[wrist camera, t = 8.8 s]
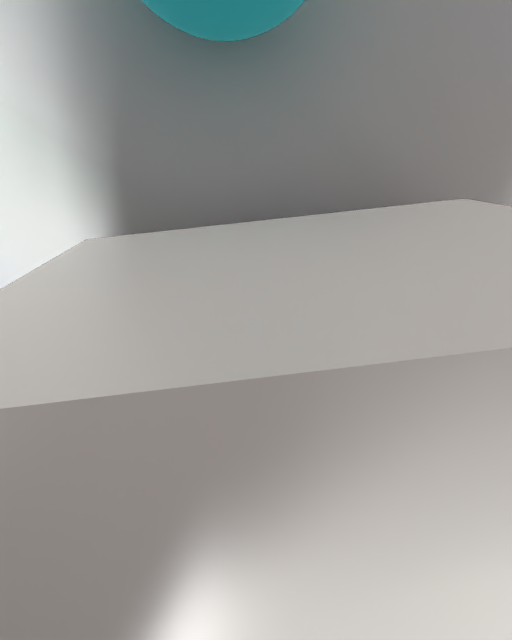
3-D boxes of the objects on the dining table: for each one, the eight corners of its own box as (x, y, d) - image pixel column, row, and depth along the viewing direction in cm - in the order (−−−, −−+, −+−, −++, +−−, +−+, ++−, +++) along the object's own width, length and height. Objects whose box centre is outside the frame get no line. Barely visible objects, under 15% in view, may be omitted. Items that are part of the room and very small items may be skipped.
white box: (155, 532, 15) (71, 980, 7) (86, 239, 12) (-259, 439, 3) (443, 495, 15) (694, 880, 7) (463, 198, 12) (1012, 288, 4)
